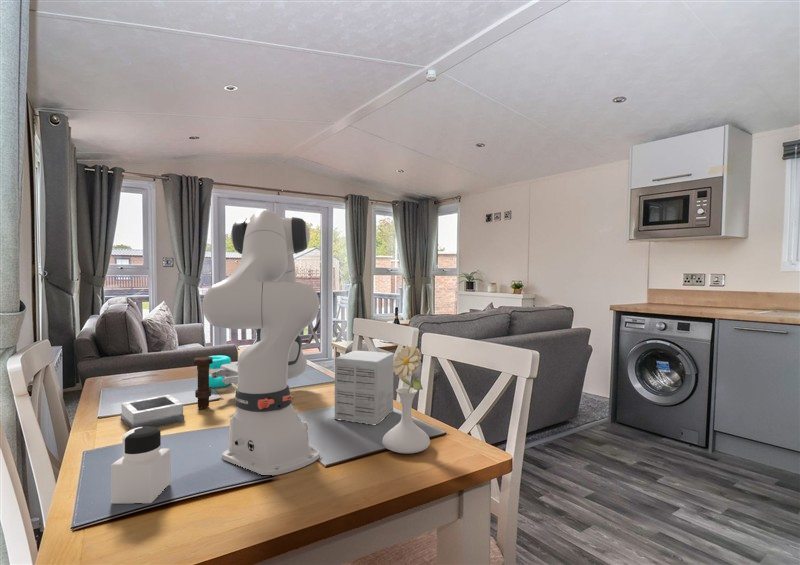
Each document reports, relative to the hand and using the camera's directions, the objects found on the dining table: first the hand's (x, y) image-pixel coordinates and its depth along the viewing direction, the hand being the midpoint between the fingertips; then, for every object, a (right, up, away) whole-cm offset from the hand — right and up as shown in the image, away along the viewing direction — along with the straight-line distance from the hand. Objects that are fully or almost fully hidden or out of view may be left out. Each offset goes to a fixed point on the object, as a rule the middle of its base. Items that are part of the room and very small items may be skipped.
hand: (217, 377), depth 132 cm
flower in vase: (+58, -10, -31) cm, 66 cm away
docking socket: (-12, -9, -13) cm, 20 cm away
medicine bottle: (+8, -10, -52) cm, 54 cm away
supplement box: (+46, -9, -8) cm, 47 cm away
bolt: (-3, -9, -3) cm, 10 cm away
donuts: (-10, -8, +23) cm, 26 cm away
